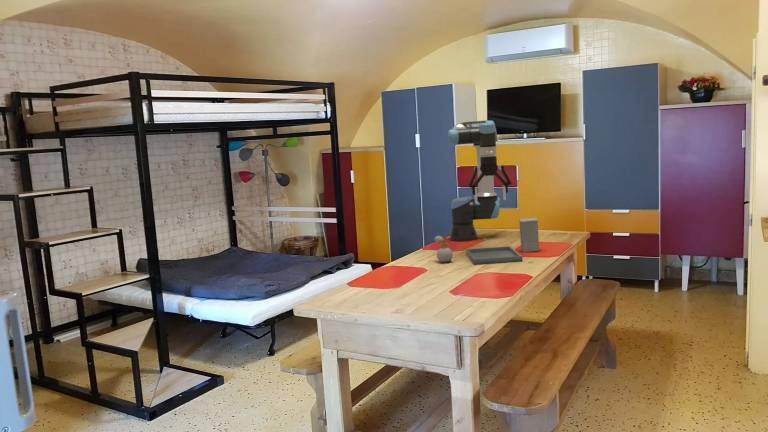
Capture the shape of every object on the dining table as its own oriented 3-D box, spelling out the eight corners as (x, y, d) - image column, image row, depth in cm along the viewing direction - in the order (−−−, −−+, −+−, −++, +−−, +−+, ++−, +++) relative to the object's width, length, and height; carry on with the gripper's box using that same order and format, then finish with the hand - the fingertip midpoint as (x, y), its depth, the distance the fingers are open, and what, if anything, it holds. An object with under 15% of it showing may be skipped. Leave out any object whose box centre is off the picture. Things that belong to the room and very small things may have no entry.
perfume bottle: (448, 264, 284) (446, 238, 282) (430, 262, 289) (428, 237, 288) (455, 260, 290) (454, 235, 288) (438, 259, 295) (436, 234, 294)
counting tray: (466, 254, 303) (465, 249, 302) (510, 251, 303) (510, 246, 303) (474, 264, 279) (474, 259, 279) (522, 261, 279) (522, 256, 279)
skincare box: (537, 248, 304) (536, 217, 302) (539, 251, 297) (538, 219, 295) (520, 249, 305) (518, 218, 303) (521, 252, 298) (520, 220, 296)
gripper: (463, 158, 284) (465, 203, 287) (516, 154, 285) (518, 199, 288) (460, 157, 292) (462, 201, 295) (512, 153, 292) (514, 198, 295)
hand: (490, 200), depth 291 cm, fingers open, 13 cm apart
